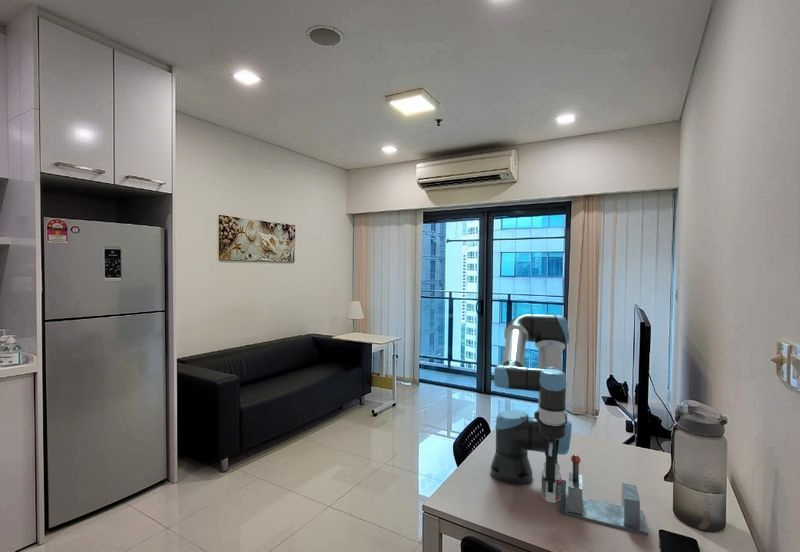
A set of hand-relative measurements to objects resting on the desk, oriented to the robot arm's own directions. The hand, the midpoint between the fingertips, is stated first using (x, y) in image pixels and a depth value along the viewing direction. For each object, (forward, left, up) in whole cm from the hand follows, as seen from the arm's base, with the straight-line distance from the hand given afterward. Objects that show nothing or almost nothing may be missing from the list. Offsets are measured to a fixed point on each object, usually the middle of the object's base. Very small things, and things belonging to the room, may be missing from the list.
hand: (551, 495), depth 124 cm
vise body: (+14, +10, -7) cm, 19 cm away
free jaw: (+7, +10, -6) cm, 14 cm away
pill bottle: (0, 0, -1) cm, 1 cm away
